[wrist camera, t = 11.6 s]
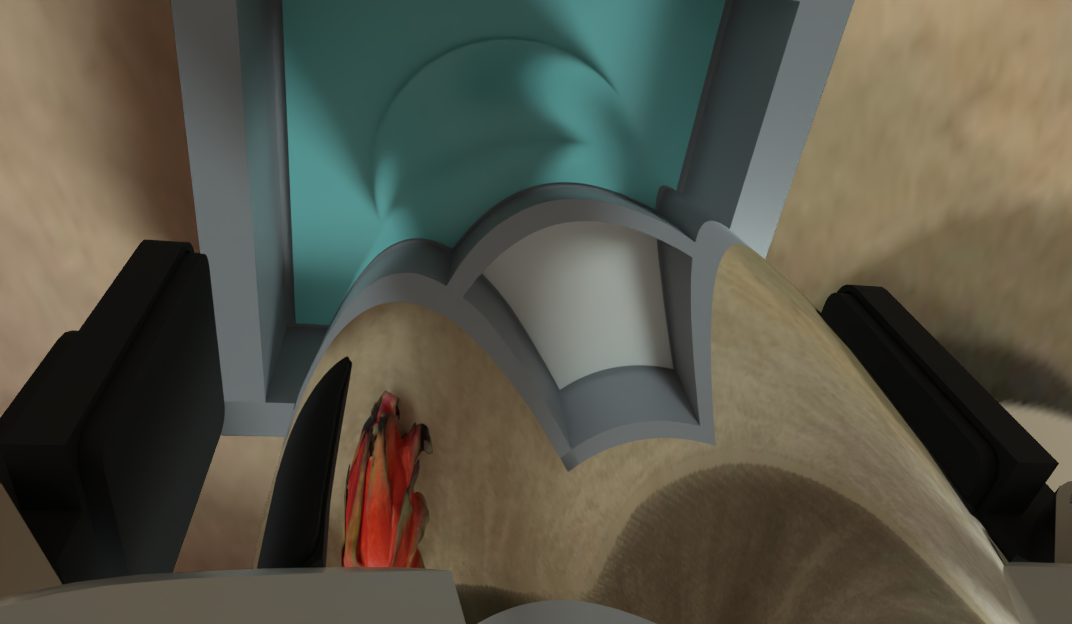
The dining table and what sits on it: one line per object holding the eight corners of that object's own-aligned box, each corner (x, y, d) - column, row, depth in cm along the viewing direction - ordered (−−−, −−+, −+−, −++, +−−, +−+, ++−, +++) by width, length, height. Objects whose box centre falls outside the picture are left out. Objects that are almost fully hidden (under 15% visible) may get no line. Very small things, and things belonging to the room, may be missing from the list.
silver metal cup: (292, 92, 15) (-276, 1182, 3) (603, -42, 15) (1537, 651, 2) (433, 337, 19) (441, 1265, 7) (685, 240, 19) (1205, 1072, 6)
